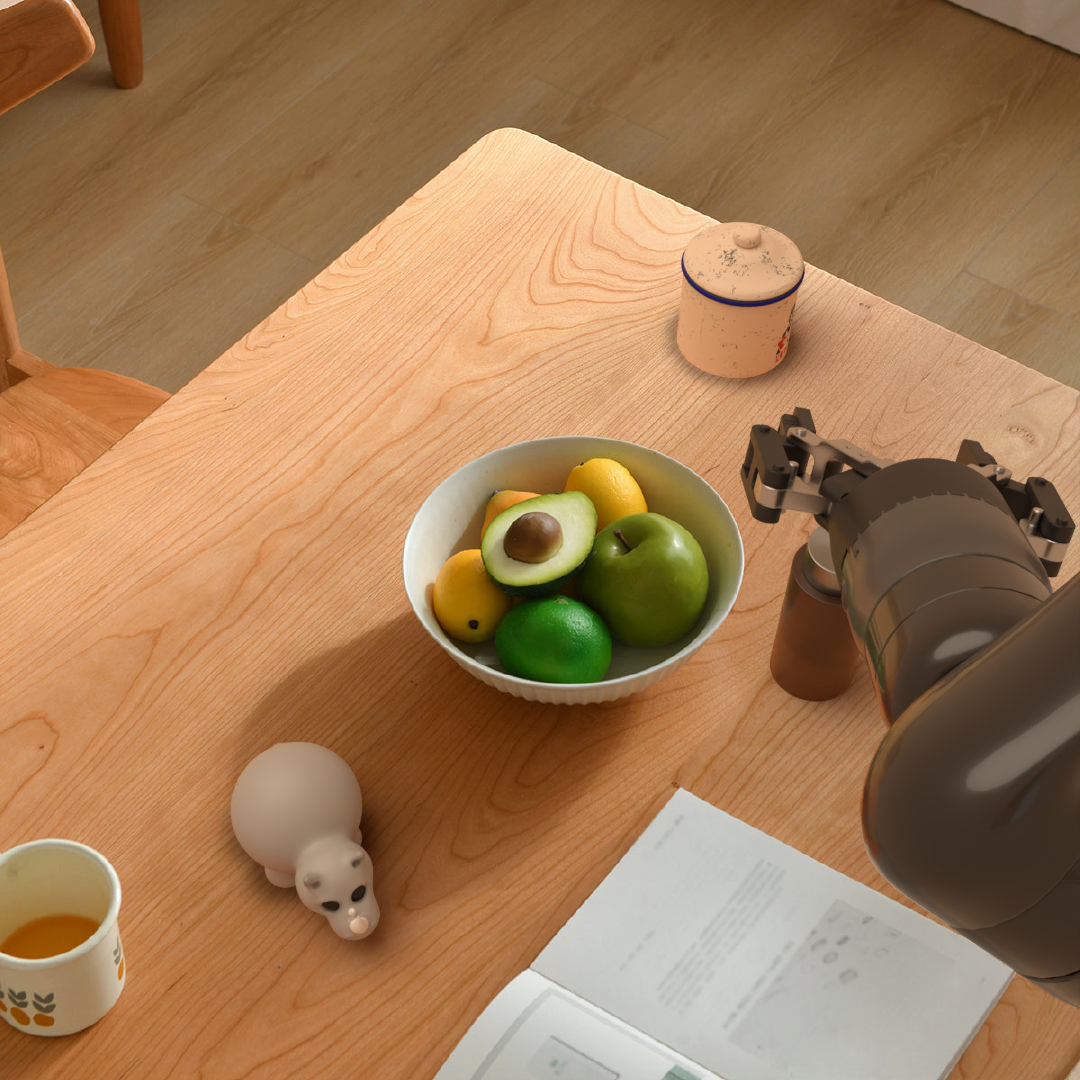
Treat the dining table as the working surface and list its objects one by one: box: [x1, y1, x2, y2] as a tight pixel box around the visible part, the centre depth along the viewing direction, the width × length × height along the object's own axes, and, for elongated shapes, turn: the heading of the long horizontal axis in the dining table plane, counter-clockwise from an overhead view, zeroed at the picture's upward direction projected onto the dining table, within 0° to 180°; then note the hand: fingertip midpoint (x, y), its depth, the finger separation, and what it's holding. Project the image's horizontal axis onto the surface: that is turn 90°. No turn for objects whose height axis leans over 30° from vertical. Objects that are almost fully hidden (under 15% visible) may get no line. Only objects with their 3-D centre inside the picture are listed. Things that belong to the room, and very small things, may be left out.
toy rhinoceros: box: [229, 741, 381, 941], centre depth 74 cm, size 7×12×8 cm, turn 29°
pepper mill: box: [769, 525, 861, 702], centre depth 82 cm, size 5×5×13 cm
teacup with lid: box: [676, 221, 806, 379], centre depth 103 cm, size 12×9×12 cm
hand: (879, 441), depth 68 cm, fingers open, 8 cm apart
